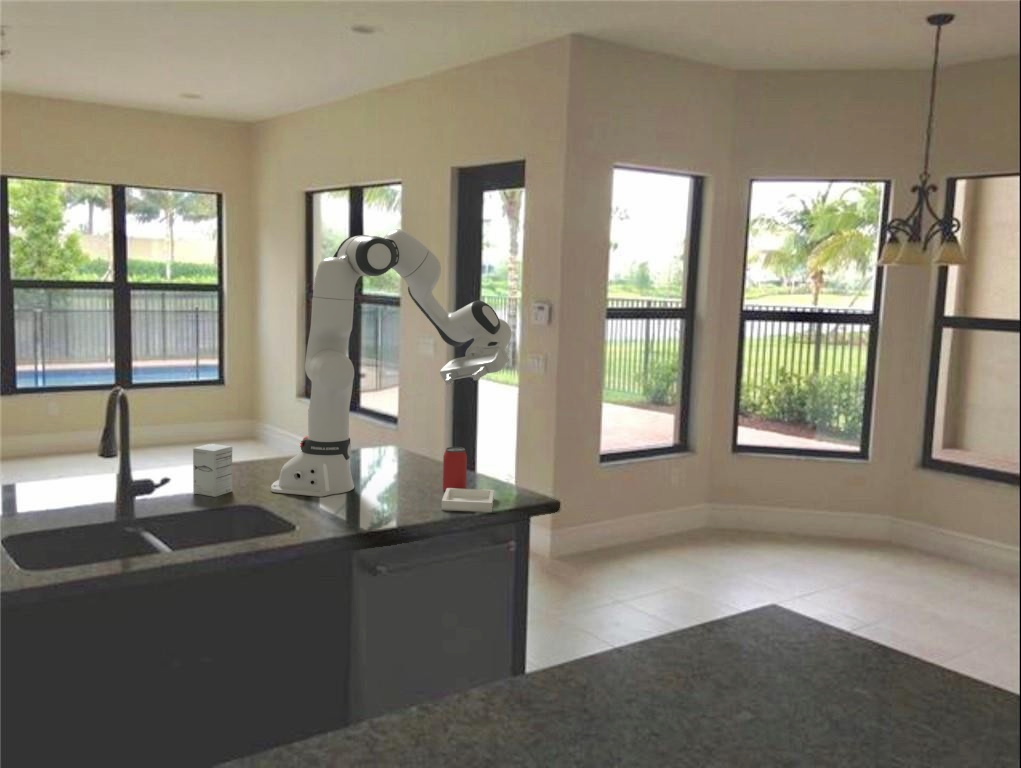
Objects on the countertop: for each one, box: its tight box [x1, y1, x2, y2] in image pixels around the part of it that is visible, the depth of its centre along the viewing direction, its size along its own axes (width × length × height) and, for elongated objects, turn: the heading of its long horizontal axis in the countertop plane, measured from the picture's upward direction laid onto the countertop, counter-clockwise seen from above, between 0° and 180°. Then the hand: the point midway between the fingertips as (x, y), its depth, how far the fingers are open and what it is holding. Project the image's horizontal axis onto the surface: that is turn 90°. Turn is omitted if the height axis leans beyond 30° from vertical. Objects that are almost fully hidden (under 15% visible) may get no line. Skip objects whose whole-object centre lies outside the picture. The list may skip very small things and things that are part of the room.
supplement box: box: [192, 443, 233, 498], centre depth 225 cm, size 7×7×13 cm
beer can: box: [442, 446, 468, 492], centre depth 236 cm, size 7×7×12 cm
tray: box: [441, 488, 495, 513], centre depth 223 cm, size 13×13×2 cm
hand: (461, 380), depth 238 cm, fingers open, 8 cm apart
